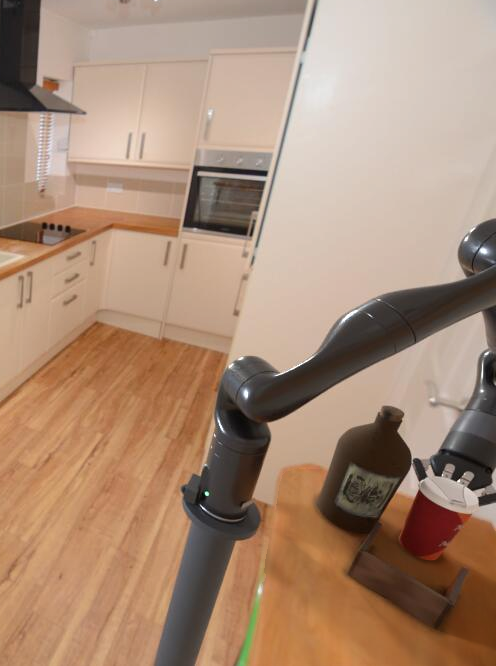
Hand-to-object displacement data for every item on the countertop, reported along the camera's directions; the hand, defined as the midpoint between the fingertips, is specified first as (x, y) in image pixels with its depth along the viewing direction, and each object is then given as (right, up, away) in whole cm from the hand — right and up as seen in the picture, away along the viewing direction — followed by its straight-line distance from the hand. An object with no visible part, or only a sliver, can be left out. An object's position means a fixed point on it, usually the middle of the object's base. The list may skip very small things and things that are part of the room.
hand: (432, 519), depth 84 cm
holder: (-12, -8, -7) cm, 16 cm away
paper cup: (-3, -5, 0) cm, 6 cm away
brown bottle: (-11, -2, +6) cm, 13 cm away
